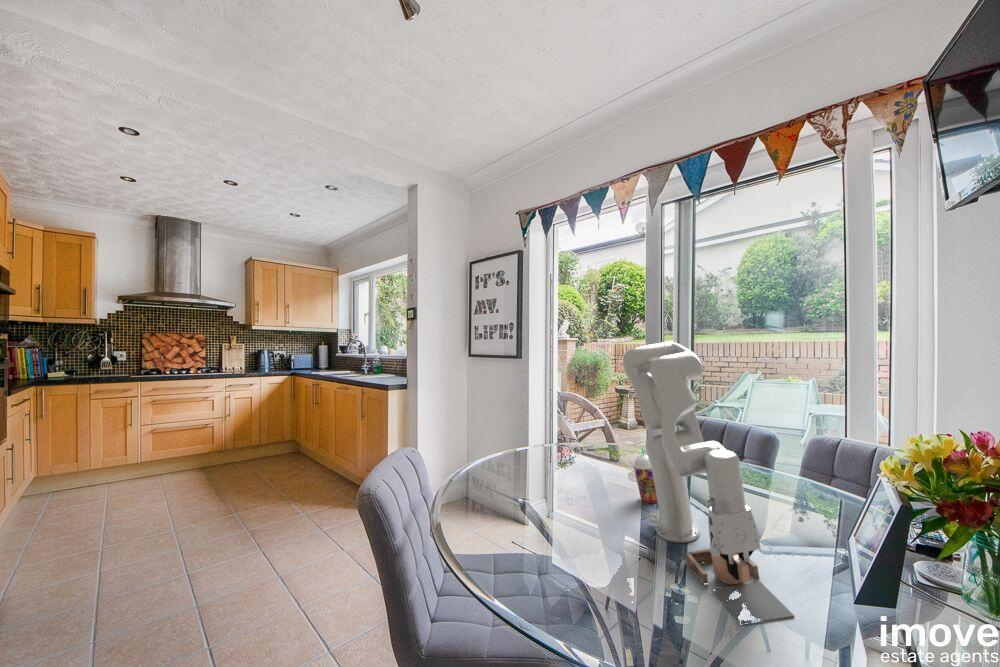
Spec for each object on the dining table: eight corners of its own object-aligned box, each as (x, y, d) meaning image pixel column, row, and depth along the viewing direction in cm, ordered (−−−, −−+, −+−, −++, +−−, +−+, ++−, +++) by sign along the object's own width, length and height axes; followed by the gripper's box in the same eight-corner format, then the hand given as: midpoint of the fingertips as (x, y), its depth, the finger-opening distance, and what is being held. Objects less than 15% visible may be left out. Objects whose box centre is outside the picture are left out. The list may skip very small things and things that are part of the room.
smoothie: (650, 507, 150) (641, 453, 149) (634, 499, 157) (626, 448, 157) (667, 500, 153) (659, 447, 152) (650, 493, 161) (642, 442, 160)
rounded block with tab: (709, 569, 110) (704, 539, 110) (735, 565, 110) (730, 535, 110) (734, 599, 98) (729, 566, 98) (764, 594, 98) (759, 561, 98)
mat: (712, 590, 103) (712, 589, 103) (760, 583, 103) (759, 581, 103) (740, 625, 92) (740, 624, 91) (794, 617, 91) (794, 615, 91)
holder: (687, 563, 116) (685, 552, 115) (736, 555, 115) (735, 544, 115) (704, 586, 106) (702, 574, 105) (759, 577, 105) (757, 565, 105)
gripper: (703, 514, 97) (715, 590, 98) (769, 503, 97) (781, 580, 97) (688, 500, 105) (699, 571, 105) (750, 490, 104) (761, 562, 105)
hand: (738, 575), depth 101 cm, fingers closed on rounded block with tab, 1 cm apart
